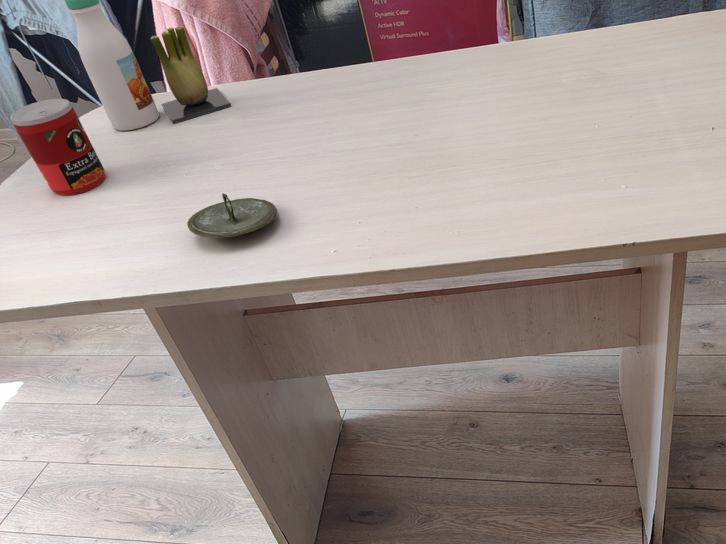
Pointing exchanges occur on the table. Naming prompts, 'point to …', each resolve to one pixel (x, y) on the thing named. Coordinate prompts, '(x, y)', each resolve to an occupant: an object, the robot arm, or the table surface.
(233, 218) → the lid
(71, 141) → the canned food
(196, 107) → the coaster
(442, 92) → the table surface
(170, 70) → the fennel bulb
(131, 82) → the milk bottle
